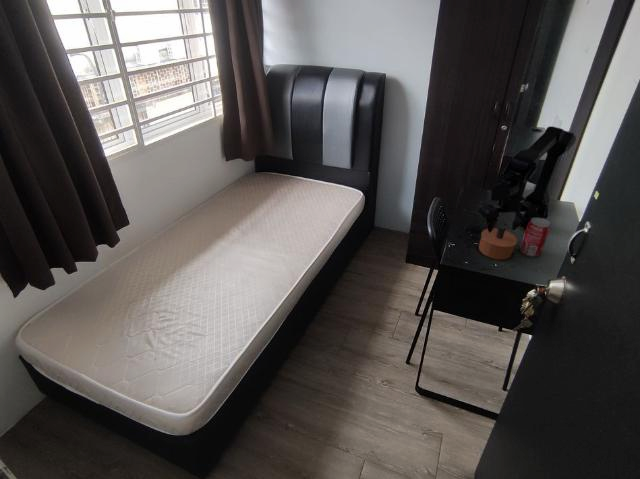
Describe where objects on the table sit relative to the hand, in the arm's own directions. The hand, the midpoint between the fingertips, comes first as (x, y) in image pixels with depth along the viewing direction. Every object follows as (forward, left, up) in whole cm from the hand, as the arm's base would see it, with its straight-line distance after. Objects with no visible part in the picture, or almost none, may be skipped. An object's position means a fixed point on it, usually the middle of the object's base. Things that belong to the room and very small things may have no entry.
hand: (501, 231), depth 137 cm
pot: (0, 0, -8) cm, 9 cm away
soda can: (-12, +3, -9) cm, 15 cm away
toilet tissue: (-28, -31, -9) cm, 43 cm away
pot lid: (0, 0, -3) cm, 3 cm away
